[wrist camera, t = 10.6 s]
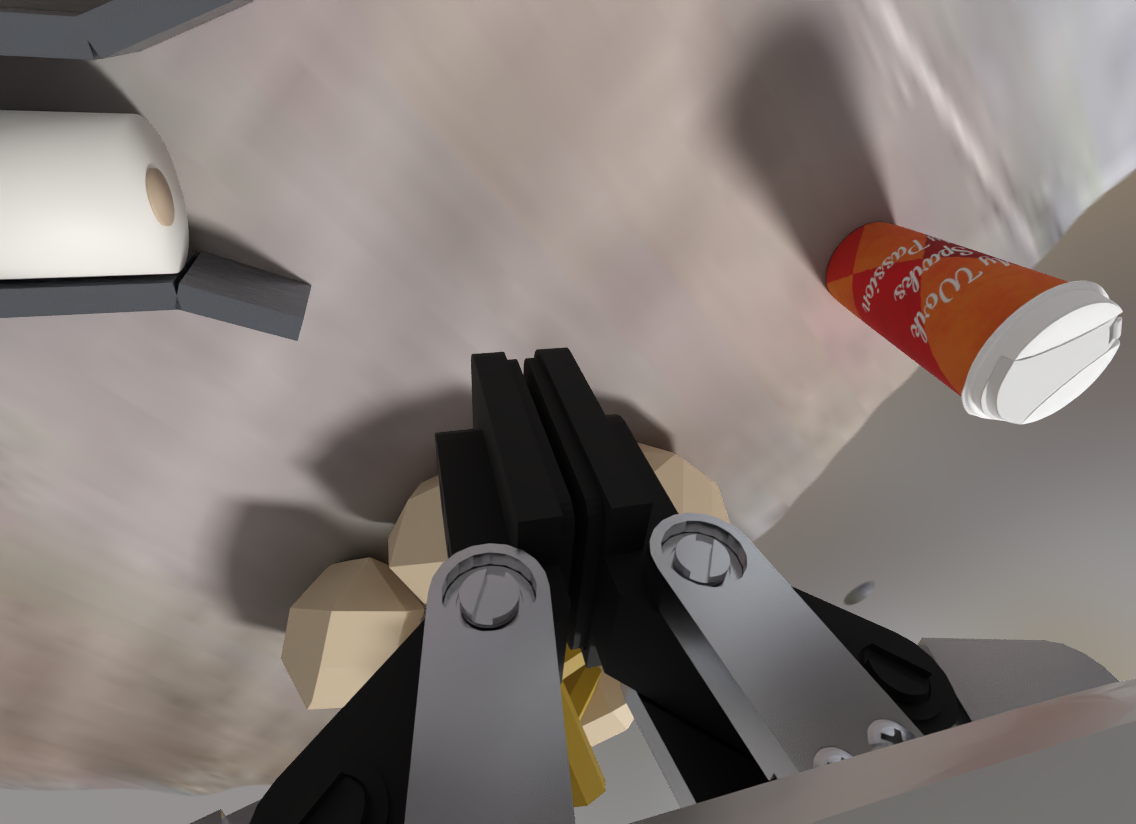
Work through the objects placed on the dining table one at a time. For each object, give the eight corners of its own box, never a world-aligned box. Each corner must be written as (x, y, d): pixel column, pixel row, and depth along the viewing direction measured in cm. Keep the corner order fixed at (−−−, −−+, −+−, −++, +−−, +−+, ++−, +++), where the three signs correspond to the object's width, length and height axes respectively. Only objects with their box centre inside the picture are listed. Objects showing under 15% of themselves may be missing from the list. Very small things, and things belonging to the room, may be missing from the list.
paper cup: (903, 178, 35) (1142, 257, 24) (923, 269, 40) (1131, 370, 29) (794, 257, 36) (975, 366, 25) (826, 337, 41) (991, 458, 30)
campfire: (198, 555, 38) (100, 860, 24) (664, 341, 38) (821, 526, 24) (443, 741, 59) (462, 955, 46) (737, 604, 59) (841, 779, 46)
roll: (-68, 227, 24) (-142, 317, 21) (-188, 75, 20) (-310, 155, 16) (200, 224, 27) (177, 303, 23) (147, 88, 23) (107, 159, 19)
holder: (-313, -85, 18) (-658, -129, 12) (246, -35, 22) (197, -48, 16) (-60, 323, 26) (-191, 418, 20) (315, 304, 30) (300, 379, 24)
